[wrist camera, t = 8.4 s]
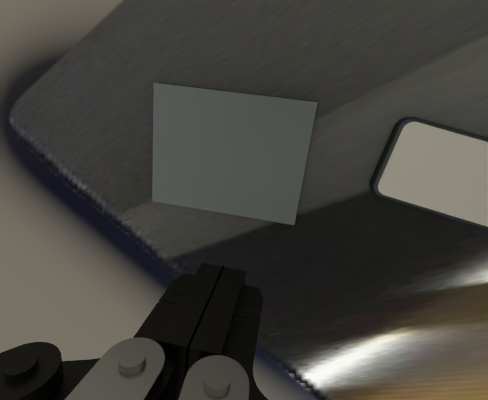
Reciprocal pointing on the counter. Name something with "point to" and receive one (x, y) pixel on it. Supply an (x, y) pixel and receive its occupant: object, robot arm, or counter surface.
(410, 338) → the counter surface
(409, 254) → the counter surface
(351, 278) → the counter surface
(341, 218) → the counter surface
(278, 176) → the mat
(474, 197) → the smartphone
